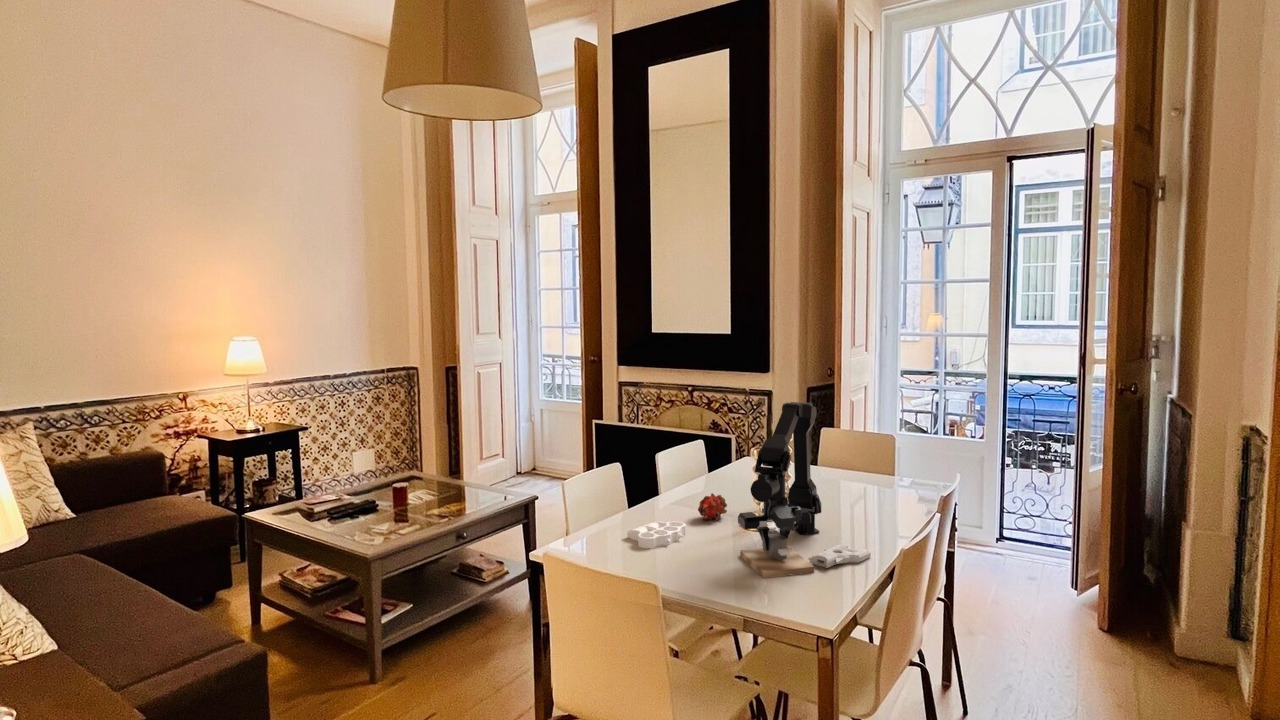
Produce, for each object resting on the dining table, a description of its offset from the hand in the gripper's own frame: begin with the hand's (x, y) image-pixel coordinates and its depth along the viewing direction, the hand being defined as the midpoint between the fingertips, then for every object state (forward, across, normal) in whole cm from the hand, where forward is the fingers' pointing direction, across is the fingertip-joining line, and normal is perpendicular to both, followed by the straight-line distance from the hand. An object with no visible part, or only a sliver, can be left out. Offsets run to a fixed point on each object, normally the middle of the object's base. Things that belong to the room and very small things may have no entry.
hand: (774, 549), depth 186 cm
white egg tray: (+4, -25, +27) cm, 37 cm away
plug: (+1, 0, 0) cm, 1 cm away
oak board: (+4, 0, -1) cm, 4 cm away
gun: (+4, +17, -3) cm, 18 cm away
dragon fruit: (+4, -4, +40) cm, 40 cm away
